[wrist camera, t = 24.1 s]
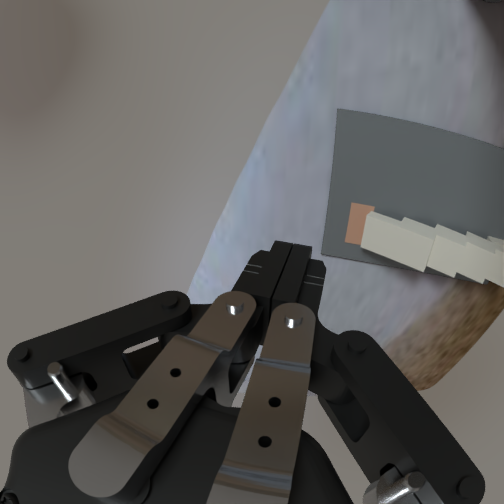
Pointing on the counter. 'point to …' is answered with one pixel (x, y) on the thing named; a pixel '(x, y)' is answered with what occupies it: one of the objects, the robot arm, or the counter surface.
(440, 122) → the counter surface
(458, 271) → the domino
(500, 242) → the domino
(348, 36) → the counter surface
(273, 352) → the robot arm
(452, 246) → the domino
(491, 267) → the domino
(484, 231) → the slate mat
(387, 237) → the domino
